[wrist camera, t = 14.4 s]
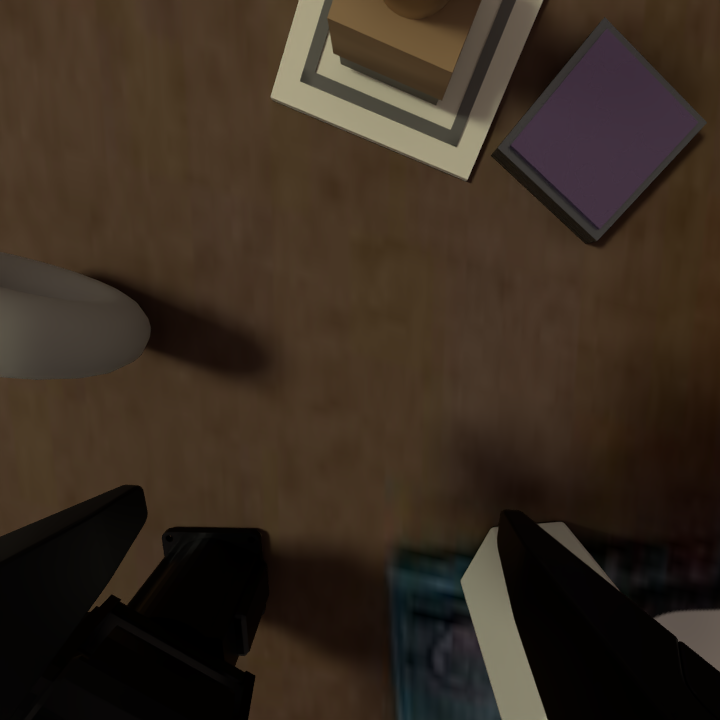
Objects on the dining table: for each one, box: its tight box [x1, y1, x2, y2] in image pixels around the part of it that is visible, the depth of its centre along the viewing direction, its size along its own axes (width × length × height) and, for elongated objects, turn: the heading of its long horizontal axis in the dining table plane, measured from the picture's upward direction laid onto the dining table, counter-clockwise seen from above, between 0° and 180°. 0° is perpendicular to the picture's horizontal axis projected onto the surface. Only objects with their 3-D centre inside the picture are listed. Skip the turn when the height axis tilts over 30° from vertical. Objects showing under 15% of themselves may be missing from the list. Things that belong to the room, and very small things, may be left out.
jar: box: [461, 522, 621, 720], centre depth 17 cm, size 9×8×12 cm
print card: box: [271, 0, 543, 181], centre depth 17 cm, size 11×11×1 cm
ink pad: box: [491, 17, 707, 244], centre depth 17 cm, size 7×7×1 cm
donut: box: [0, 252, 151, 380], centre depth 16 cm, size 10×4×10 cm, turn 68°
